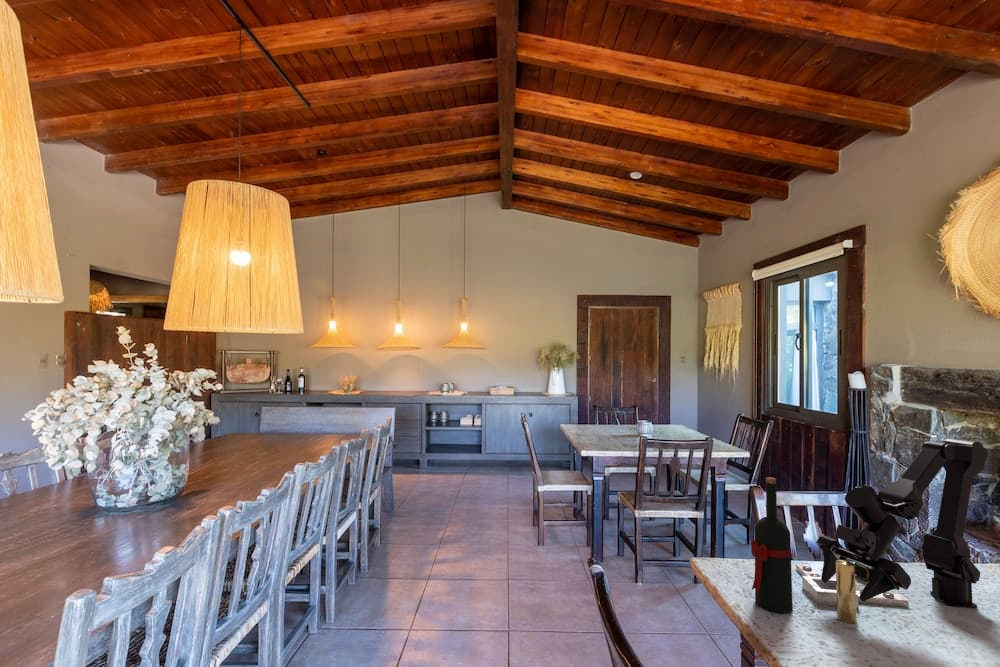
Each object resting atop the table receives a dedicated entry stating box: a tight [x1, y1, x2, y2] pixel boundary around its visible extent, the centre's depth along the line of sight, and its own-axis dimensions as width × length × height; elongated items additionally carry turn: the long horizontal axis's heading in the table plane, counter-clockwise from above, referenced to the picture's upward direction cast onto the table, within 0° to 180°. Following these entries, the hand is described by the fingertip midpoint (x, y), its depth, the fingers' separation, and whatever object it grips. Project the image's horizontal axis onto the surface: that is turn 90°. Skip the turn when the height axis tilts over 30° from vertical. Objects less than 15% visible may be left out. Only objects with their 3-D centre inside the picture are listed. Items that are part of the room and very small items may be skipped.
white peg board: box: [795, 563, 910, 609], centre depth 128 cm, size 21×21×3 cm
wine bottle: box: [750, 476, 794, 615], centre depth 119 cm, size 8×10×30 cm
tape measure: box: [854, 562, 872, 582], centre depth 134 cm, size 7×7×4 cm
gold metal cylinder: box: [835, 560, 858, 625], centre depth 113 cm, size 4×4×12 cm
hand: (841, 590), depth 112 cm, fingers open, 9 cm apart
